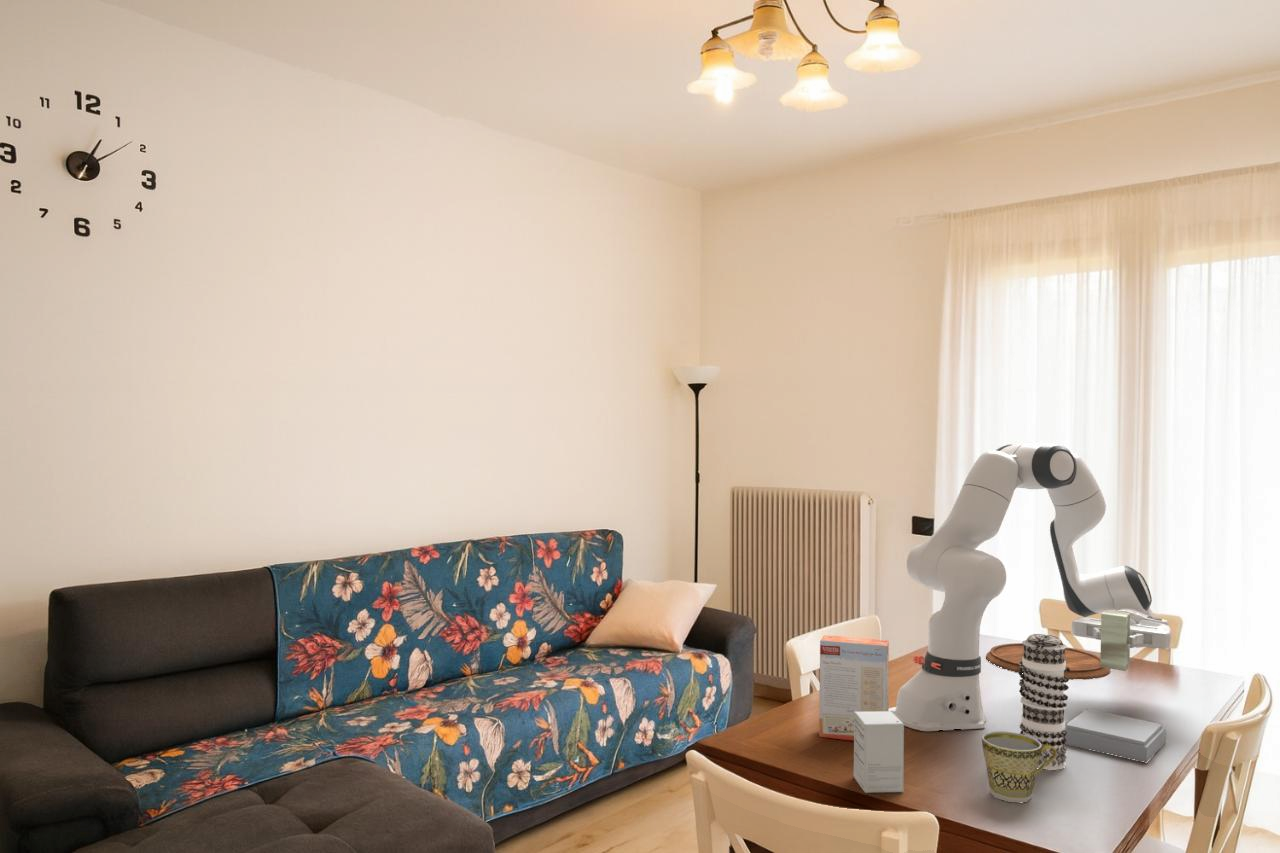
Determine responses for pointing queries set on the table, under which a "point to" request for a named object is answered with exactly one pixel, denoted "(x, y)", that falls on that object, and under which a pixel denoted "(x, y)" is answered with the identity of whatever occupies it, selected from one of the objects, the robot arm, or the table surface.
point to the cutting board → (1076, 660)
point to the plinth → (1115, 734)
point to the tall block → (1115, 640)
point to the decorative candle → (1044, 695)
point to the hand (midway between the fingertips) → (1114, 638)
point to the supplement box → (878, 751)
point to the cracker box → (851, 682)
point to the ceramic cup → (1012, 764)
